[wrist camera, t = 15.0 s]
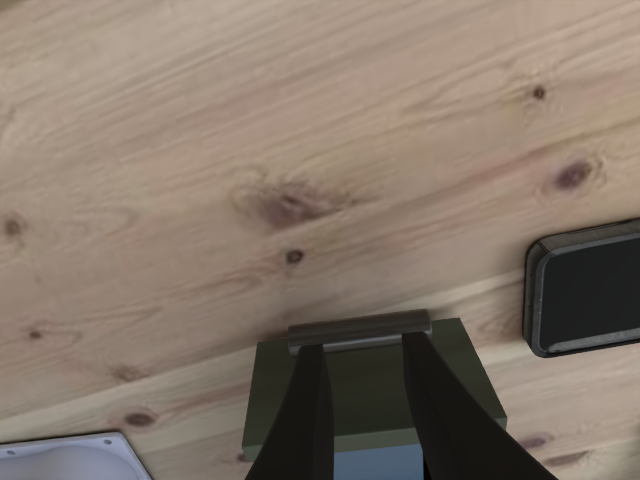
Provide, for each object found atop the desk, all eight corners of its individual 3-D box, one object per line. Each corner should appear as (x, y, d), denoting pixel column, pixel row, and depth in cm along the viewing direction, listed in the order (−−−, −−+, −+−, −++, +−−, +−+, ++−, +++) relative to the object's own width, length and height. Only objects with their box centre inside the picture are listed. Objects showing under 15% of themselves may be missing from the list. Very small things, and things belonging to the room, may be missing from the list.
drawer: (239, 282, 21) (214, 382, 15) (462, 253, 20) (519, 345, 15) (295, 466, 29) (292, 572, 24) (454, 449, 28) (487, 554, 23)
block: (331, 415, 25) (336, 493, 21) (321, 364, 22) (323, 440, 18) (405, 407, 24) (423, 484, 20) (402, 354, 22) (422, 429, 18)
